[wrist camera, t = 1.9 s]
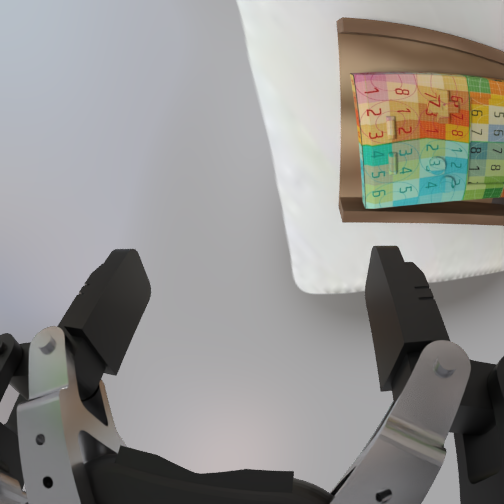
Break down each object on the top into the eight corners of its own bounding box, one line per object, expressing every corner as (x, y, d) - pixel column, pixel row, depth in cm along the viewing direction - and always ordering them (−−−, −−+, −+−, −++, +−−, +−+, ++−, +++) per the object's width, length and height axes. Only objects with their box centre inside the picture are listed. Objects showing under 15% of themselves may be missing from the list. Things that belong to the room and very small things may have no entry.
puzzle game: (355, 75, 18) (546, 91, 14) (344, 71, 22) (518, 80, 17) (367, 214, 25) (534, 199, 20) (357, 189, 29) (512, 179, 24)
